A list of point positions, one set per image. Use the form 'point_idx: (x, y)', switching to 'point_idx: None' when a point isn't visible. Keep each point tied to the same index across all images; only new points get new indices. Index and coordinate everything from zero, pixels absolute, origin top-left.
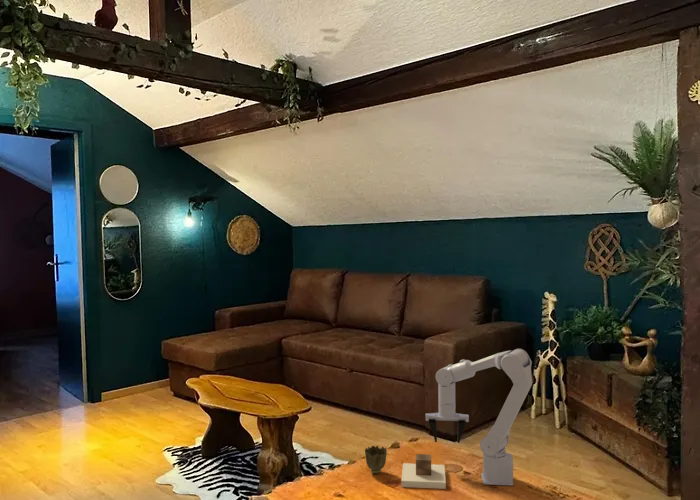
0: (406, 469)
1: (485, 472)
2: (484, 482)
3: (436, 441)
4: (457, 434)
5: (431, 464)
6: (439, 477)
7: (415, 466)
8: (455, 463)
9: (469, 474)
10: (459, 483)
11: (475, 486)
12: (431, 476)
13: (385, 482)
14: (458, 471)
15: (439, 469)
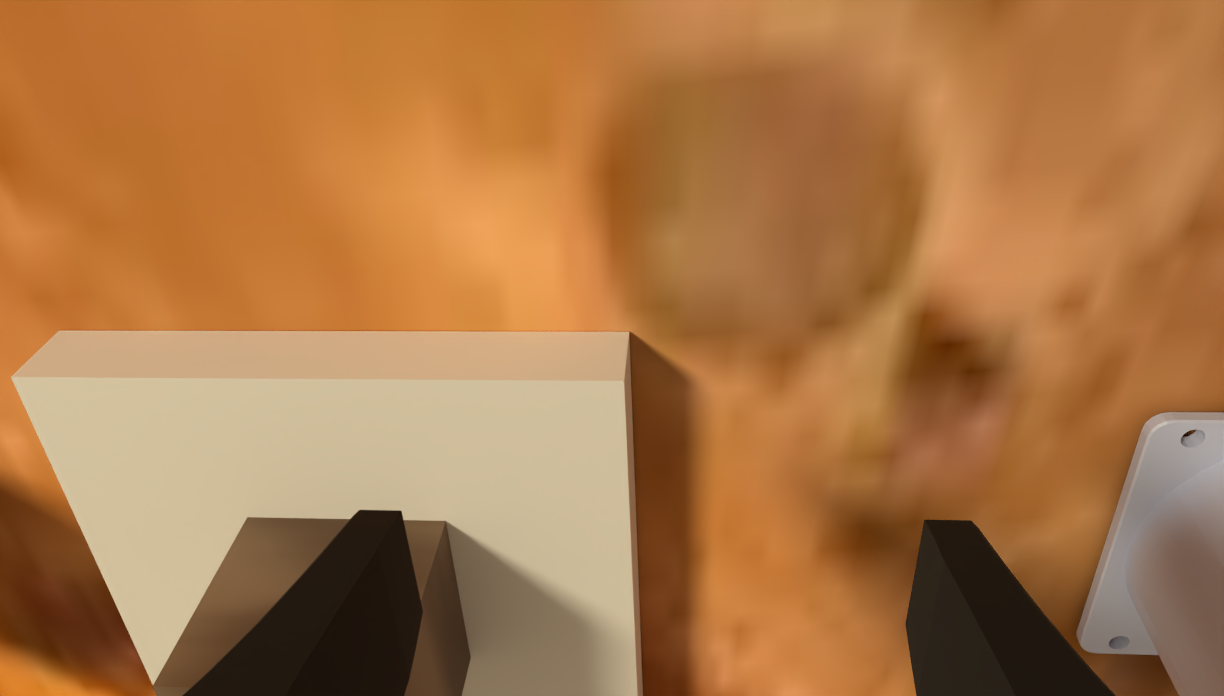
0: (135, 541)
1: (1173, 684)
2: (1098, 641)
3: (412, 622)
4: (973, 618)
5: (427, 384)
6: (569, 690)
7: (218, 457)
8: (826, 42)
9: (975, 410)
10: (799, 617)
11: None
12: (475, 672)
13: (24, 632)
14: (833, 336)
15: (557, 518)
